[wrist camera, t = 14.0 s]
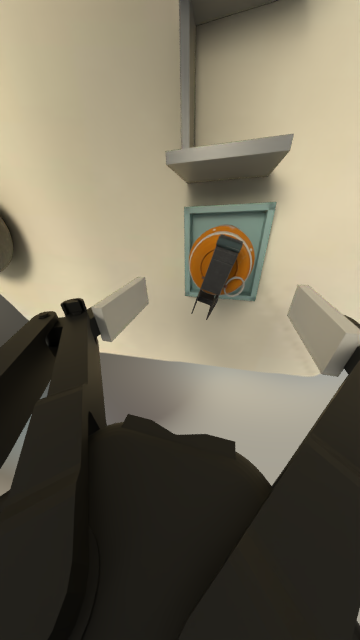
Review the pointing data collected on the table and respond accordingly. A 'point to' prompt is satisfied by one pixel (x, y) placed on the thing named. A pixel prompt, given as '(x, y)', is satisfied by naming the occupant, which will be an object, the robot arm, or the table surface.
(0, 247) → the bowl
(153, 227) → the table surface
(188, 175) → the dock
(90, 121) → the table surface
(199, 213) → the tray
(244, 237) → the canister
